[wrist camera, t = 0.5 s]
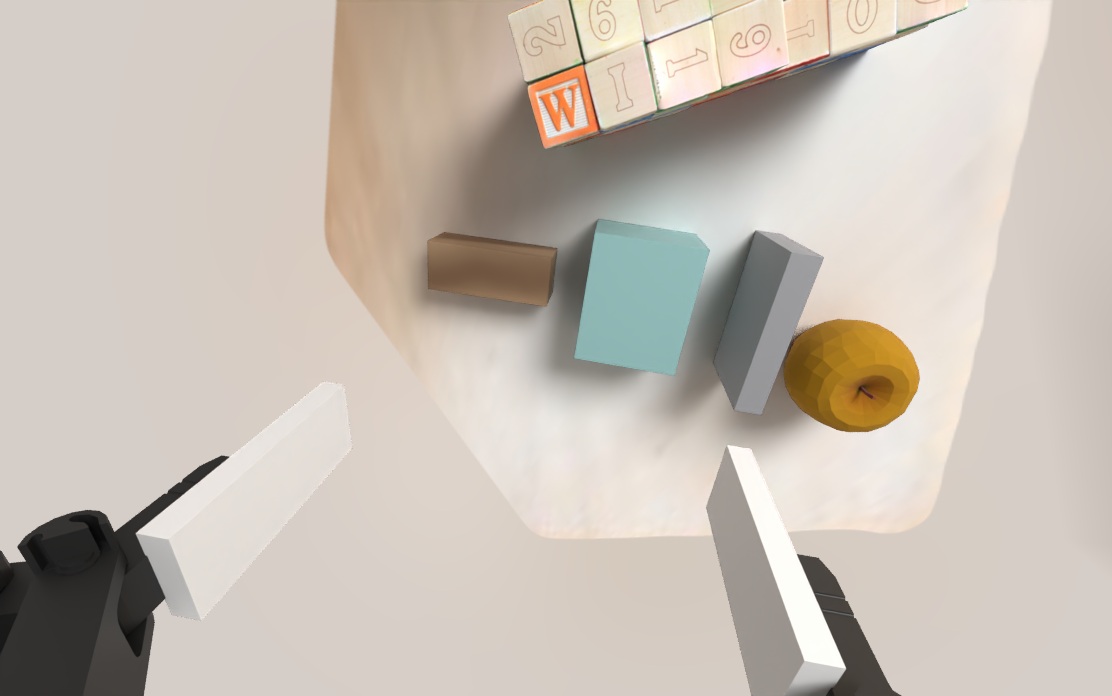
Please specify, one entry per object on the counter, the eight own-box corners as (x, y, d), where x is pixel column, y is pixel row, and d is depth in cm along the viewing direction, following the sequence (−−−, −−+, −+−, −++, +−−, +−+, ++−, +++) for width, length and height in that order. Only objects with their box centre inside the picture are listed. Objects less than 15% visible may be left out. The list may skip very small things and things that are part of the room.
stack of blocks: (869, -65, 27) (1043, -210, 16) (870, 50, 29) (1023, -7, 18) (542, 58, 32) (503, 12, 21) (565, 148, 34) (541, 150, 23)
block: (598, 219, 36) (595, 232, 31) (695, 234, 36) (709, 249, 30) (579, 329, 40) (574, 358, 35) (666, 344, 40) (674, 375, 35)
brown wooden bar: (445, 231, 38) (427, 240, 35) (557, 247, 38) (551, 258, 34) (445, 275, 40) (428, 288, 37) (552, 291, 40) (546, 306, 36)
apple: (883, 373, 38) (953, 432, 31) (783, 403, 41) (823, 465, 33) (863, 286, 36) (934, 327, 28) (757, 324, 38) (794, 372, 30)
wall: (755, 230, 35) (791, 252, 28) (781, 234, 35) (823, 257, 28) (713, 362, 40) (734, 410, 33) (735, 366, 40) (761, 415, 33)
